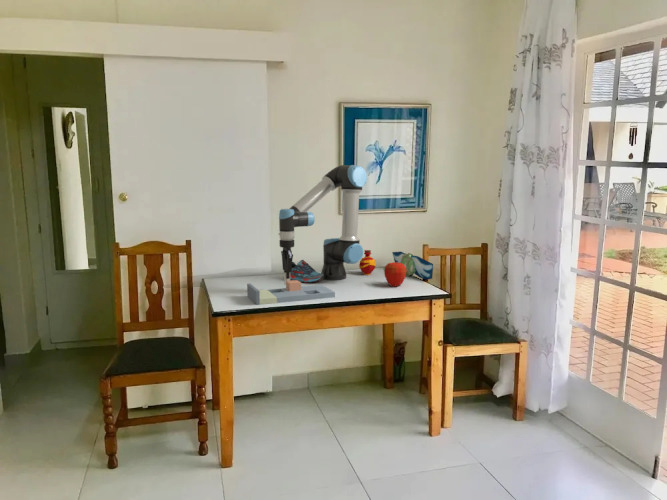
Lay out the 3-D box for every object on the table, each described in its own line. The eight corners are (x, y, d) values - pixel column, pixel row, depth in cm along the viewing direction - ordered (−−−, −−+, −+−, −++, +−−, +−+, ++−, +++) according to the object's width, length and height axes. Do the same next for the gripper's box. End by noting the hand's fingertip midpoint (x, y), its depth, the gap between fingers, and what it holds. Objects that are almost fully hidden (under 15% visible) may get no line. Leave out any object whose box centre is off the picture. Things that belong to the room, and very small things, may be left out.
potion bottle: (361, 277, 314) (361, 252, 311) (357, 273, 324) (357, 249, 321) (378, 276, 316) (378, 251, 313) (373, 273, 326) (374, 249, 323)
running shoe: (318, 285, 292) (318, 263, 291) (280, 280, 305) (279, 259, 303) (327, 282, 301) (327, 261, 299) (290, 277, 313) (289, 257, 312)
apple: (405, 289, 284) (405, 263, 282) (382, 288, 286) (383, 262, 284) (406, 284, 296) (407, 259, 294) (385, 283, 298) (385, 258, 296)
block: (297, 287, 275) (297, 280, 275) (301, 290, 270) (301, 282, 269) (286, 288, 273) (286, 281, 272) (289, 291, 268) (289, 283, 267)
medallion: (386, 270, 337) (387, 248, 334) (393, 269, 339) (394, 248, 336) (427, 284, 296) (427, 260, 294) (434, 283, 298) (435, 259, 296)
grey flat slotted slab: (321, 289, 283) (321, 277, 282) (334, 297, 266) (335, 284, 265) (247, 296, 267) (247, 283, 266) (256, 304, 251) (256, 291, 250)
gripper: (276, 238, 277) (276, 282, 281) (283, 241, 265) (283, 287, 269) (290, 237, 280) (290, 281, 283) (297, 240, 268) (298, 286, 272)
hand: (287, 284), depth 276 cm, fingers closed
